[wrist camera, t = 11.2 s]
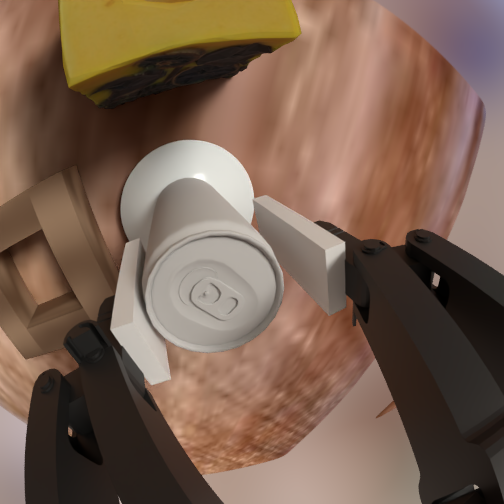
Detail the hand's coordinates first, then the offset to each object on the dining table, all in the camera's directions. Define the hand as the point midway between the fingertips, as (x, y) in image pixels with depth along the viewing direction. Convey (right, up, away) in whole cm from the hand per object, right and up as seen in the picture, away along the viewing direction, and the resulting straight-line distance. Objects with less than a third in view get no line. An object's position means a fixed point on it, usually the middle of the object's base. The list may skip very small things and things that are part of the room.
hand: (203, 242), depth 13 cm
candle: (-4, +15, 0) cm, 16 cm away
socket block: (-14, -1, +4) cm, 15 cm away
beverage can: (-2, +3, +6) cm, 7 cm away
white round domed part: (-2, +3, +6) cm, 7 cm away
